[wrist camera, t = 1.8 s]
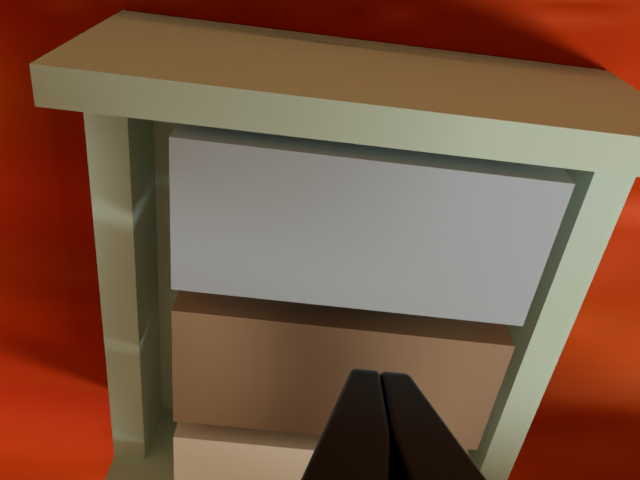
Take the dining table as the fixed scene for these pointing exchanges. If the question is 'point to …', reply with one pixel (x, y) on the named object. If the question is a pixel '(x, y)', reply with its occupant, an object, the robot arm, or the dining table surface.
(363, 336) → the brown rectangular block
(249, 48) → the key bed
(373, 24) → the dining table surface
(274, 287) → the grey flat block
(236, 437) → the ivory key
